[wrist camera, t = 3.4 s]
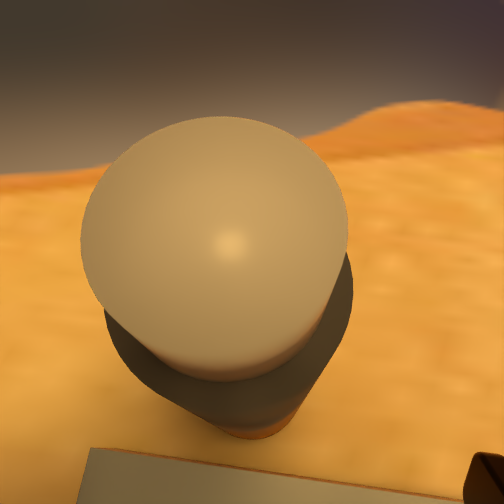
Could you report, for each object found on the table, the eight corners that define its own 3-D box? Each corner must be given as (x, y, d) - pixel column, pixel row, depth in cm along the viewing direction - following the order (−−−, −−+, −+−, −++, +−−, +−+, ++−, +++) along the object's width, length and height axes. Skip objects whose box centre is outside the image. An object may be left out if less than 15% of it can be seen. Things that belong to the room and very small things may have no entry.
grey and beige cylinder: (297, 446, 17) (380, 419, 4) (194, 431, 17) (-4, 367, 5) (305, 343, 19) (384, 105, 6) (211, 331, 19) (98, 83, 6)
